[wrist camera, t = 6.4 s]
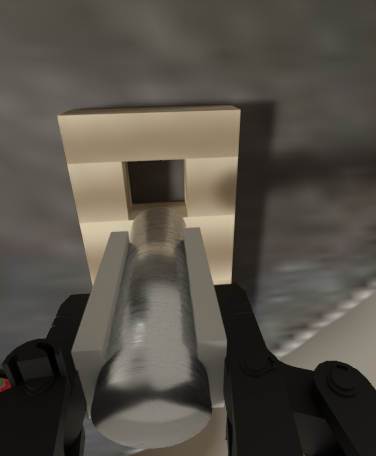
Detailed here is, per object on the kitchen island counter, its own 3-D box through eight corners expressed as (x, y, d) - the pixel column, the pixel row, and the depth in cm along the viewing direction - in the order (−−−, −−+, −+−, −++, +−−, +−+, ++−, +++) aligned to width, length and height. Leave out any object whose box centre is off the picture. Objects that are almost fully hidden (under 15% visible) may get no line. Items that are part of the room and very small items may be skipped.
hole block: (70, 109, 21) (57, 115, 18) (230, 104, 21) (240, 109, 19) (111, 326, 30) (106, 351, 27) (222, 318, 31) (227, 342, 28)
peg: (128, 207, 16) (80, 377, 7) (186, 204, 16) (213, 367, 7) (134, 256, 17) (100, 452, 8) (187, 253, 17) (211, 443, 8)
